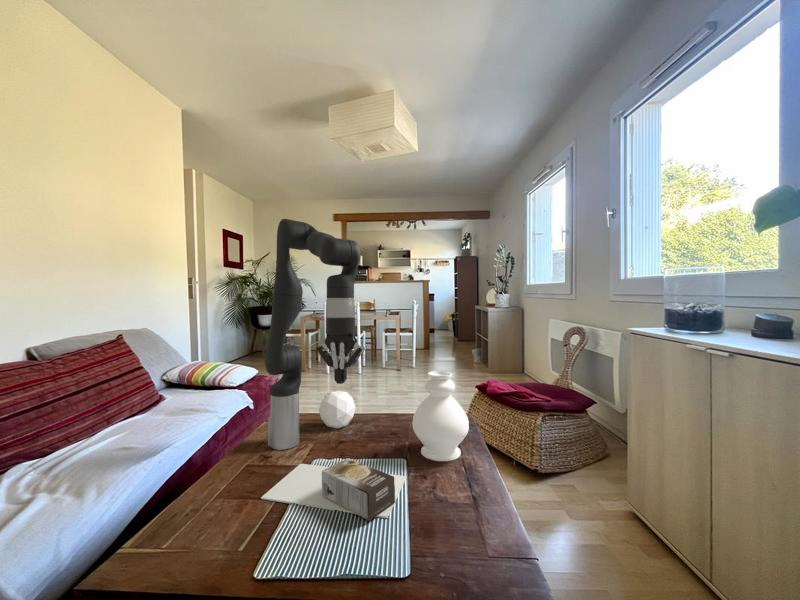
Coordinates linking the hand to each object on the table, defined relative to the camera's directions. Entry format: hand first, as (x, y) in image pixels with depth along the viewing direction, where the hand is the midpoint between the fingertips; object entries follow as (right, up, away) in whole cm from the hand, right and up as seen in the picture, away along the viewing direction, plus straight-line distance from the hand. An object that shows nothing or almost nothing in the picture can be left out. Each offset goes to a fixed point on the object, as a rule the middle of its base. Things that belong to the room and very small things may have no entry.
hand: (340, 383), depth 87 cm
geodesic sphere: (-9, -28, +44) cm, 53 cm away
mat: (-1, -27, 0) cm, 27 cm away
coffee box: (-1, -23, -1) cm, 23 cm away
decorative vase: (+28, -27, +20) cm, 44 cm away
